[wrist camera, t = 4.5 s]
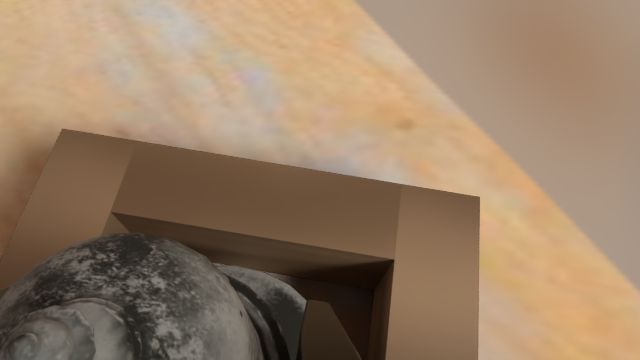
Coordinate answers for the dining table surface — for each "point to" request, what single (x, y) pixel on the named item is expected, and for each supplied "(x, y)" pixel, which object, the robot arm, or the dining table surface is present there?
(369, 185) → the holder
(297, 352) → the robot arm
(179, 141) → the dining table surface
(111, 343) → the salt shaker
